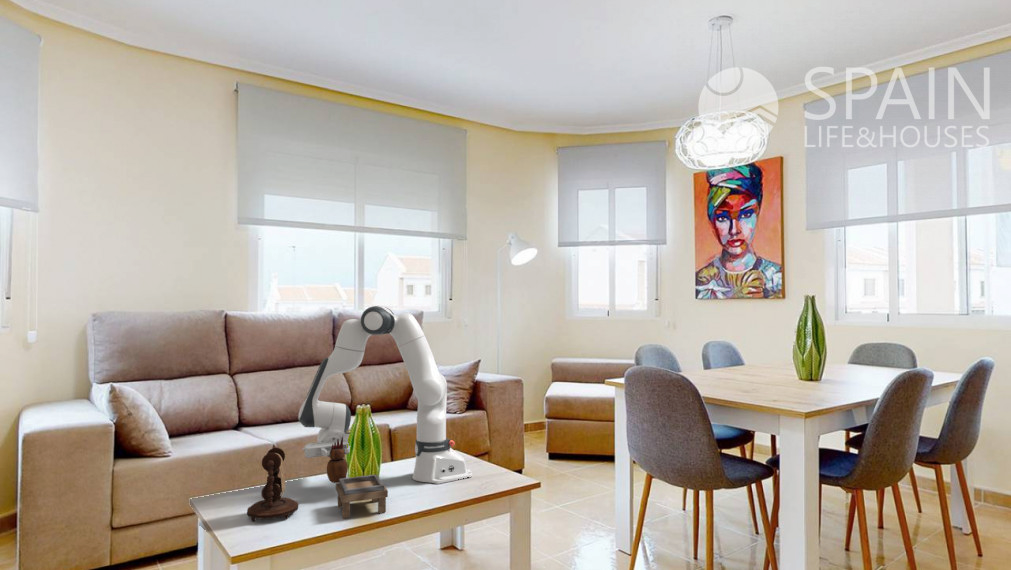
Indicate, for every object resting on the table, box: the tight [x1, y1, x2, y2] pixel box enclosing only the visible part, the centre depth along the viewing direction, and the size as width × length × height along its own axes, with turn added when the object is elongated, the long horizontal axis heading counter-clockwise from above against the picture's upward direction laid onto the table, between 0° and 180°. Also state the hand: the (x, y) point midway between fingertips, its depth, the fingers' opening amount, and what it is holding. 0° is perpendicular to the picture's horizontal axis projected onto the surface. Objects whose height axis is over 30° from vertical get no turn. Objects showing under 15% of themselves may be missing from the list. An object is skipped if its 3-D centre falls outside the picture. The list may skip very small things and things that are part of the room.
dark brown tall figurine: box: [246, 447, 299, 523], centre depth 179 cm, size 15×15×20 cm
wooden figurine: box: [326, 437, 349, 484], centre depth 196 cm, size 7×6×15 cm
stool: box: [335, 474, 389, 520], centre depth 184 cm, size 14×14×8 cm
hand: (337, 452), depth 196 cm, fingers closed on wooden figurine, 5 cm apart
